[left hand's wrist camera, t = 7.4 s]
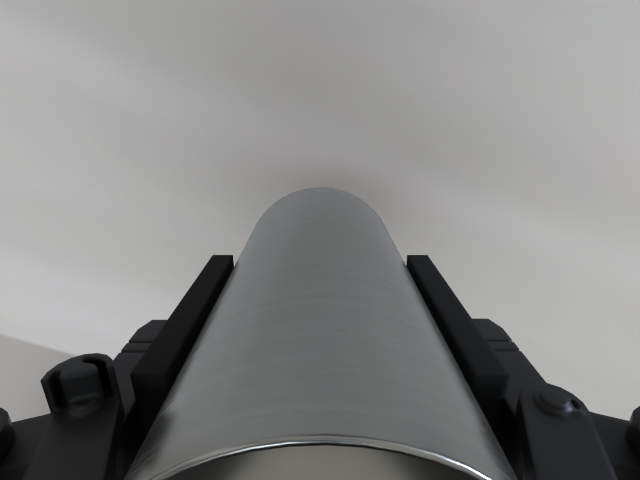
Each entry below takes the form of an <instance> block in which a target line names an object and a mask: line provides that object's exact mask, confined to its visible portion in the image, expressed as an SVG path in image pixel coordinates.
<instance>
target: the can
mask: <svg viewBox="0 0 640 480" xmlns="http://www.w3.org/2000/svg"><path fill="white" fill-rule="evenodd" d="M124 480H518V479H517V477H516V475H515V473H514V471H513V469H512V467H511V465H510V463H509V461H508V460H507V458H506V456H505V454H504V452H503V450H502V448H501V446H500V444H499V442H498V441H497V439H496V437H495V435H494V433H493V431H492V429H491V427H490V425H489V423H488V421H487V420H486V418H485V416H484V414H483V412H482V410H481V408H480V406H479V404H478V402H477V400H476V399H475V397H474V395H473V393H472V391H471V389H470V387H469V385H468V383H467V381H466V379H465V378H464V376H463V374H462V372H461V370H460V368H459V366H458V364H457V362H456V360H455V358H454V357H453V355H452V353H451V351H450V349H449V347H448V345H447V343H446V341H445V339H444V338H443V336H442V334H441V332H440V330H439V328H438V326H437V324H436V322H435V320H434V318H433V317H432V315H431V313H430V311H429V309H428V307H427V305H426V303H425V301H424V299H423V297H422V296H421V294H420V292H419V290H418V288H417V286H416V284H415V282H414V280H413V278H412V276H411V275H410V273H409V271H408V269H407V267H406V265H405V263H404V261H403V259H402V257H401V255H400V254H399V252H398V250H397V248H396V246H395V244H394V242H393V240H392V238H391V236H390V234H389V233H388V231H387V229H386V227H385V225H384V223H383V222H382V220H381V218H380V217H379V216H378V214H377V213H376V212H375V211H374V210H373V209H372V208H371V207H370V206H369V205H368V204H367V203H365V202H364V201H362V200H361V199H359V198H358V197H356V196H354V195H352V194H349V193H347V192H344V191H341V190H336V189H331V188H310V189H304V190H300V191H297V192H294V193H291V194H289V195H287V196H285V197H283V198H281V199H280V200H278V201H277V202H275V203H274V204H273V205H272V206H271V207H269V208H268V209H267V211H266V212H265V213H264V214H263V215H262V216H261V218H260V219H259V221H258V222H257V224H256V226H255V228H254V230H253V232H252V234H251V236H250V238H249V240H248V242H247V243H246V245H245V247H244V249H243V251H242V253H241V255H240V257H239V259H238V261H237V263H236V265H235V267H234V269H233V270H232V272H231V274H230V276H229V278H228V280H227V282H226V284H225V286H224V288H223V290H222V292H221V294H220V295H219V297H218V299H217V301H216V303H215V305H214V307H213V309H212V311H211V313H210V315H209V317H208V319H207V321H206V322H205V324H204V326H203V328H202V330H201V332H200V334H199V336H198V338H197V340H196V342H195V344H194V346H193V347H192V349H191V351H190V353H189V355H188V357H187V359H186V361H185V363H184V365H183V367H182V369H181V371H180V373H179V374H178V376H177V378H176V380H175V382H174V384H173V386H172V388H171V390H170V392H169V394H168V396H167V398H166V399H165V401H164V403H163V405H162V407H161V409H160V411H159V413H158V415H157V417H156V419H155V421H154V423H153V425H152V426H151V428H150V430H149V432H148V434H147V436H146V438H145V440H144V442H143V444H142V446H141V448H140V450H139V451H138V453H137V455H136V457H135V459H134V461H133V463H132V465H131V467H130V469H129V471H128V473H127V475H126V477H125V478H124Z"/></svg>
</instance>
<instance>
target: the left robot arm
mask: <svg viewBox="0 0 640 480" xmlns="http://www.w3.org/2000/svg"><path fill="white" fill-rule="evenodd" d="M406 267H407V269H408V271H409V273H410V275H411V276H412V278H413V280H414V282H415V284H416V286H417V288H418V290H419V292H420V294H421V296H422V297H423V299H424V301H425V303H426V305H427V307H428V309H429V311H430V313H431V315H432V317H433V318H434V320H435V322H436V324H437V326H438V328H439V330H440V332H441V334H442V336H443V338H444V339H445V341H446V343H447V345H448V347H449V349H450V351H451V353H452V355H453V357H454V358H455V360H456V362H457V364H458V366H459V368H460V370H461V372H462V374H463V376H464V378H465V379H466V381H467V383H468V385H469V387H470V389H471V391H472V393H473V395H474V397H475V399H476V400H477V402H478V404H479V406H480V408H481V410H482V412H483V414H484V416H485V418H486V420H487V421H488V423H489V425H490V427H491V429H492V431H493V433H494V435H495V437H496V439H497V441H498V442H499V444H500V446H501V448H502V450H503V452H504V454H505V456H506V458H507V460H508V461H509V463H510V465H511V467H512V469H513V471H514V473H515V475H516V477H517V479H518V480H640V406H639V407H638V408H636V409H635V410H634V411H633V413H632V416H631V418H630V421H626V420H622V419H618V418H613V417H609V416H605V415H600V414H596V413H593V412H589V411H588V409H587V408H586V406H585V405H584V403H583V402H582V401H581V400H579V399H578V398H577V397H576V396H574V395H573V394H572V393H570V392H568V391H566V390H564V389H562V388H560V387H557V386H554V385H551V384H548V383H546V382H545V381H544V379H543V378H542V377H541V376H540V374H539V373H538V372H537V371H536V369H535V368H534V367H533V366H532V364H531V363H530V362H529V361H528V359H527V358H526V357H525V356H524V354H523V353H522V352H521V351H519V348H518V347H517V346H516V344H515V343H514V342H512V340H511V338H510V337H509V336H508V335H507V333H506V332H505V331H504V330H503V328H501V327H500V326H498V325H497V324H495V323H494V322H492V321H491V320H489V319H472V318H471V317H470V316H469V314H468V313H467V311H466V310H465V308H464V307H463V306H462V304H461V303H460V301H459V300H458V298H457V297H456V296H455V294H454V293H453V291H452V290H451V288H450V287H449V286H448V284H447V283H446V281H445V280H444V278H443V277H442V275H441V274H440V273H439V271H438V270H437V268H436V267H435V265H434V264H433V263H432V261H431V260H430V258H429V257H428V255H407V266H406ZM233 269H234V263H233V255H213V256H212V257H211V259H210V260H209V262H208V263H207V264H206V266H205V267H204V269H203V270H202V272H201V273H200V274H199V276H198V277H197V279H196V280H195V282H194V283H193V284H192V286H191V287H190V289H189V290H188V292H187V293H186V294H185V296H184V297H183V299H182V300H181V302H180V303H179V304H178V306H177V307H176V309H175V310H174V312H173V313H172V314H171V316H170V317H169V319H168V320H152V321H150V322H149V323H147V324H146V325H144V326H143V327H141V328H140V329H138V330H137V331H136V333H135V334H134V335H133V336H132V338H131V339H130V340H129V343H127V344H126V345H125V346H124V348H123V349H122V350H121V353H119V354H118V355H117V356H116V358H115V359H114V360H112V359H111V358H110V357H109V356H107V355H104V354H99V353H94V354H84V355H80V356H77V357H73V358H70V359H68V360H66V361H64V362H62V363H60V364H58V365H57V366H55V367H54V368H52V369H51V370H50V371H48V372H47V373H46V375H45V376H44V377H43V378H42V379H41V384H42V387H43V390H44V393H45V396H46V399H47V402H48V405H49V408H50V411H51V413H50V414H46V415H43V416H38V417H34V418H29V419H25V420H21V421H17V422H11V420H10V417H9V415H8V412H7V411H5V410H4V409H2V408H0V480H124V478H125V477H126V475H127V473H128V471H129V469H130V467H131V465H132V463H133V461H134V459H135V457H136V455H137V453H138V451H139V450H140V448H141V446H142V444H143V442H144V440H145V438H146V436H147V434H148V432H149V430H150V428H151V426H152V425H153V423H154V421H155V419H156V417H157V415H158V413H159V411H160V409H161V407H162V405H163V403H164V401H165V399H166V398H167V396H168V394H169V392H170V390H171V388H172V386H173V384H174V382H175V380H176V378H177V376H178V374H179V373H180V371H181V369H182V367H183V365H184V363H185V361H186V359H187V357H188V355H189V353H190V351H191V349H192V347H193V346H194V344H195V342H196V340H197V338H198V336H199V334H200V332H201V330H202V328H203V326H204V324H205V322H206V321H207V319H208V317H209V315H210V313H211V311H212V309H213V307H214V305H215V303H216V301H217V299H218V297H219V295H220V294H221V292H222V290H223V288H224V286H225V284H226V282H227V280H228V278H229V276H230V274H231V272H232V270H233Z"/></svg>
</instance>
